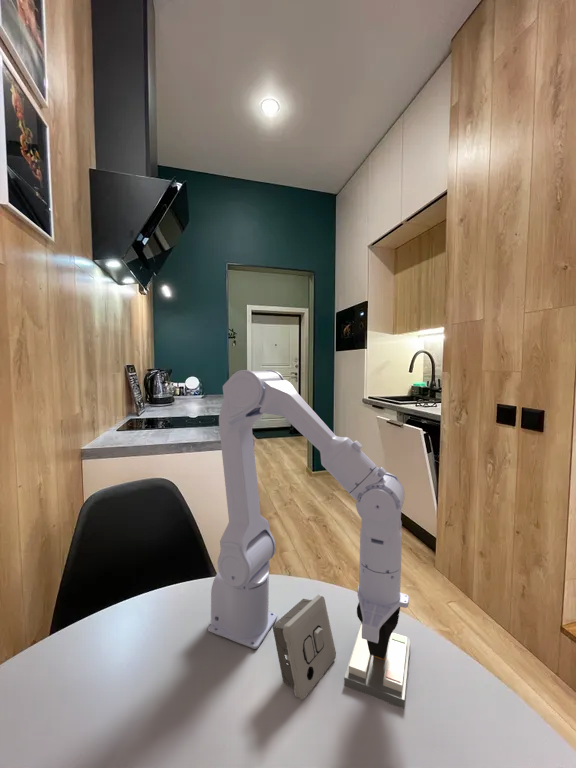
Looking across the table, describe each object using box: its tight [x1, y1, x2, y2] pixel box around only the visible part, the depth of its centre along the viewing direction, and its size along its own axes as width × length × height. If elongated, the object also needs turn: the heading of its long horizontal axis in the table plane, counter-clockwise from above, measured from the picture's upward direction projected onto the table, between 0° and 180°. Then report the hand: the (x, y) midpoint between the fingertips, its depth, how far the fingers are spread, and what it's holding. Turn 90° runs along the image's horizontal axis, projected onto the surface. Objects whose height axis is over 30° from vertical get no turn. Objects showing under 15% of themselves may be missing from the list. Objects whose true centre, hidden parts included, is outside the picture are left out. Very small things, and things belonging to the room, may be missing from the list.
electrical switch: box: [272, 594, 337, 700], centre depth 50 cm, size 9×5×9 cm, turn 141°
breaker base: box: [343, 623, 411, 709], centre depth 51 cm, size 8×11×2 cm
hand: (377, 653), depth 49 cm, fingers closed
